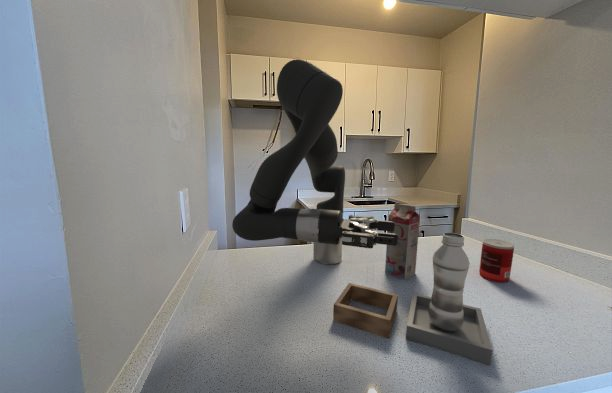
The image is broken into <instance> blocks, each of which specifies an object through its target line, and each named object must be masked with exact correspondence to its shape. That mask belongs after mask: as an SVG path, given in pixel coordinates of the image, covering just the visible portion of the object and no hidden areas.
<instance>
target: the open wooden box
mask: <svg viewBox="0 0 612 393" xmlns="http://www.w3.org/2000/svg"><path fill="white" fill-rule="evenodd" d="M398 297H399V295H398V294H397V293H392V292H388V291H384V290H380V289H376V288H372V287H368V286H364V285H360V284H356V283H353V282H352V283H351V282H349V283H347V285H346V286H345V288H344V289H343V291H341V294H340V295H339V296H338V298H337V299H336V301H334V303H333V310H332V312H333V317H332V319H333V321H332V322H335V323H339V324H341V325H345V326H347V327H351V328H354V329H356V330H360V331H364V332H367V333H370V334H373V335H376V336H379V337H382V338H386V339H388V340H389V339H390V338H391V333H392V329H393V325H394V322H395V319H396V314H397V312H396V311H397V310H398V299H399V298H398ZM351 301H353V302H358V303H360V304H365V305H368V306H372V307H375V308H380V309H383V310H386V311H387V312H386V315H383V314H379V313H375V312H371V311H368V310H365V309H361V308H357V307H355V306H351V305H349V304H350V303H351Z"/></svg>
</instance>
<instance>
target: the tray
mask: <svg viewBox="0 0 612 393" xmlns="http://www.w3.org/2000/svg"><path fill="white" fill-rule="evenodd" d="M431 298H432V296H428V295H424V294H419V293H415V292H413V293H412V296H411V300H410V301H411V302H410V307H409V311H408V312H409V313H408V317H407V321H406V322H407V323H406V331H405V340H408V341H412V342H413V343H417V344H420V345H423V346H426V345H427V346H426V347H430V348H433V347H434V349H436V350H439V351H442V352H446V353H449V354H453V355H456V356H459V357H462V358H466V359H468V360H471V361H474V362H478V363H480V364H481V363H482V364H484V365H488V366H491V364H492V363H491V362H492V356H493V348H492V345H491V340H490V338H489V333H488V330H487V325H486V323H485V318H484V315H483V312H482V308H480V307H475V306H471V305H467V304H463V312H464V322H463V325H462V327H461V328H460V329H459V330H458V331H455V332H449V331H444V330H442V329H439V328H437V327H436V326H434V325H433V324H432V322H431V321H430V319H429V315H428V308H429V304H430V301H431Z"/></svg>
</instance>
